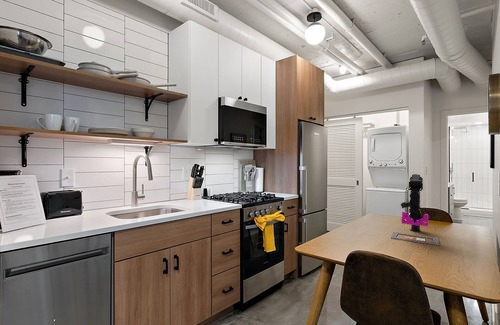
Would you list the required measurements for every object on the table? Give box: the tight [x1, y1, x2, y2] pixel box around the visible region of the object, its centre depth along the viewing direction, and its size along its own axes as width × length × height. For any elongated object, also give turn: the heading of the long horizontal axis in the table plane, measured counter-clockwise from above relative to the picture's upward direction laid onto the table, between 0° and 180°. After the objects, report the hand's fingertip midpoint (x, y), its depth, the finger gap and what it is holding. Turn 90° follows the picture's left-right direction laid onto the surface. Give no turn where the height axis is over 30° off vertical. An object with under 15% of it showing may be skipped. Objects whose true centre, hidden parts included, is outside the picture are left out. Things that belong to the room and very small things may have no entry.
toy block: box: [400, 211, 429, 227], centre depth 179 cm, size 15×6×8 cm, turn 53°
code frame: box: [390, 231, 440, 247], centre depth 179 cm, size 18×27×1 cm, turn 56°
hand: (414, 221), depth 179 cm, fingers closed on toy block, 6 cm apart
